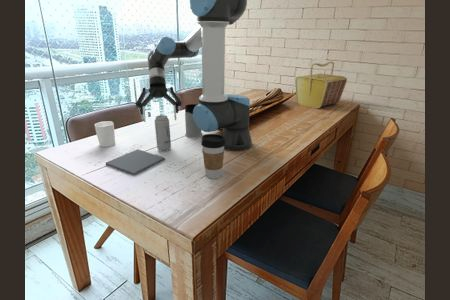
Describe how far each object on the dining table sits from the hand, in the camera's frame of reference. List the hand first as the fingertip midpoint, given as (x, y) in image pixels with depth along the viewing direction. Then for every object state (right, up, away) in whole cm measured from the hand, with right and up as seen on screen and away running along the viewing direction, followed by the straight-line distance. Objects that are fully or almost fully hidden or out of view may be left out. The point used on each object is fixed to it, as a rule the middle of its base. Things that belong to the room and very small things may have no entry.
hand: (160, 119), depth 121 cm
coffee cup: (+25, -23, -22) cm, 40 cm away
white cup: (-25, -11, +5) cm, 28 cm away
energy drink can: (+2, -13, 0) cm, 13 cm away
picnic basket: (+98, +20, +82) cm, 129 cm away
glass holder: (+14, -5, +20) cm, 25 cm away
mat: (-7, -18, -13) cm, 23 cm away
